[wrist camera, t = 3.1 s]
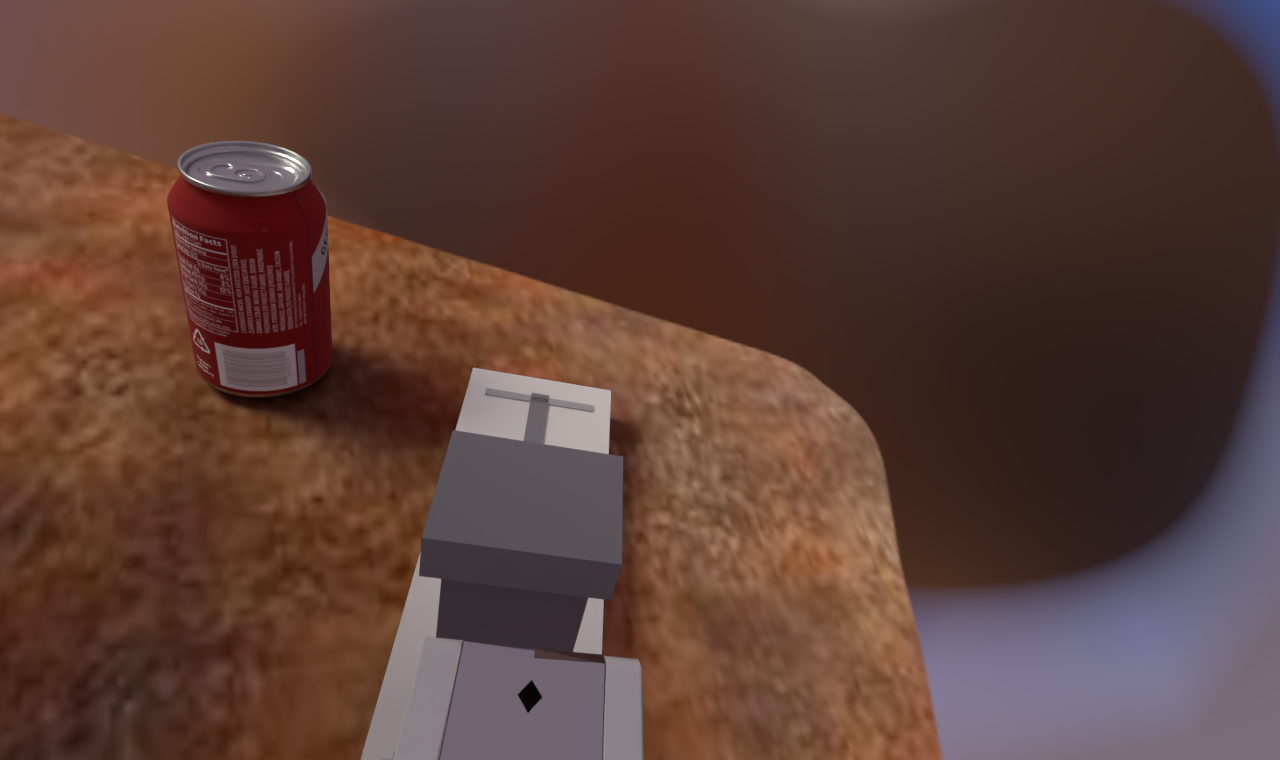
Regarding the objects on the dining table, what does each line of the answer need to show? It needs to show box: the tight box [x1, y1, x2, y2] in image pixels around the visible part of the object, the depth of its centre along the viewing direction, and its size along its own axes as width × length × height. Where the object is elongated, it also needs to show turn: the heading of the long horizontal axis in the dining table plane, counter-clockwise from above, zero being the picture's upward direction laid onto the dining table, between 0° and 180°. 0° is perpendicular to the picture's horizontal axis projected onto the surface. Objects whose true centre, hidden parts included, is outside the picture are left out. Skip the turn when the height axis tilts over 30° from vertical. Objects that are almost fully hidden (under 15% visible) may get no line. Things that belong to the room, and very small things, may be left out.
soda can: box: [167, 141, 332, 398], centre depth 38 cm, size 7×7×12 cm
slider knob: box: [419, 430, 623, 652], centre depth 23 cm, size 4×5×11 cm
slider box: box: [361, 368, 611, 760], centre depth 34 cm, size 24×8×2 cm, turn 1°
